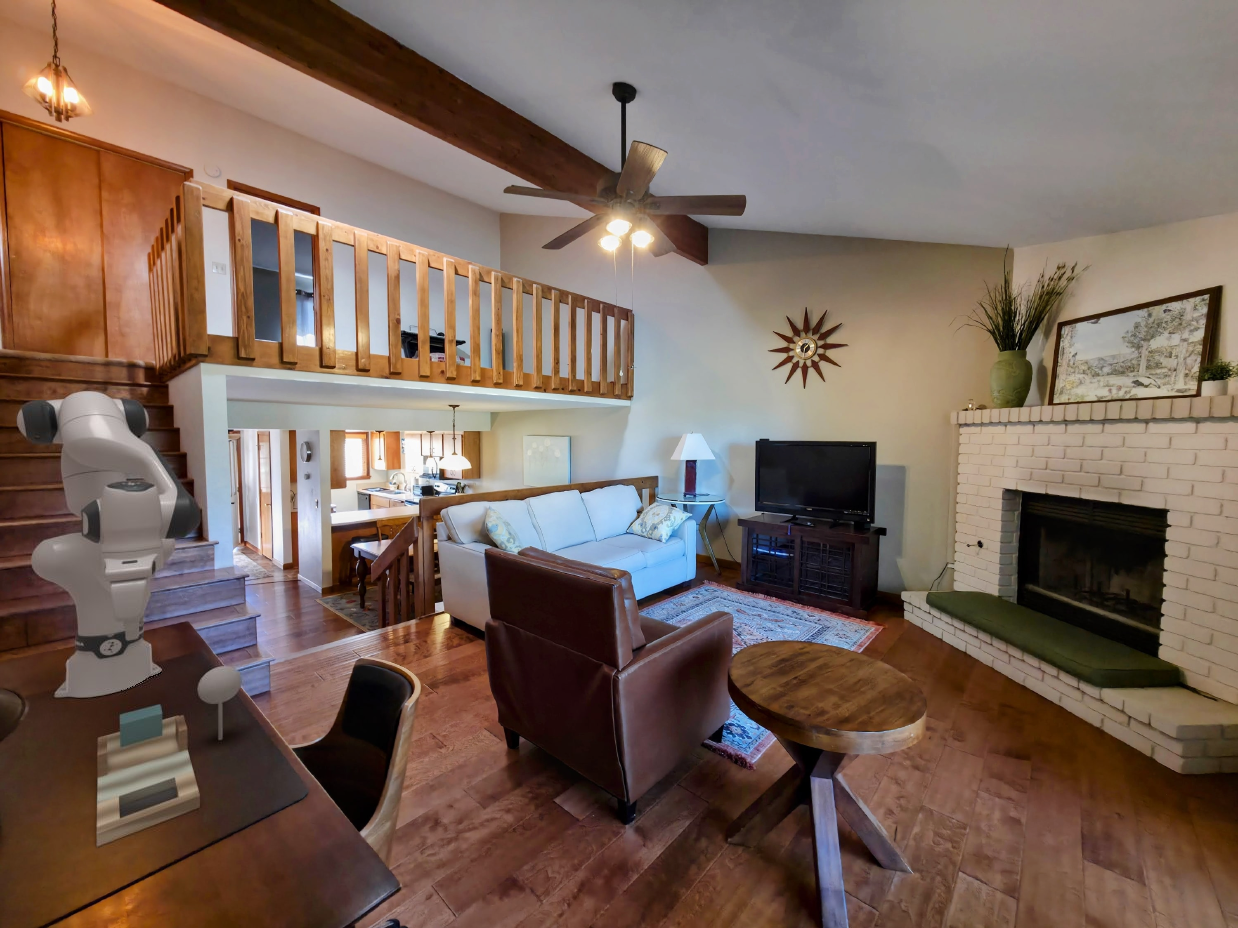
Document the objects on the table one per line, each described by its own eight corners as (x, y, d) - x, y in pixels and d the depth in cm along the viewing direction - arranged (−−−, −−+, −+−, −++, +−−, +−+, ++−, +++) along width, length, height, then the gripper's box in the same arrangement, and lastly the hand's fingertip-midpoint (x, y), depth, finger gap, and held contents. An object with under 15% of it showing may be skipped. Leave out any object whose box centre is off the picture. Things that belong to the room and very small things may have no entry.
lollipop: (250, 733, 106) (249, 663, 105) (213, 752, 99) (212, 677, 98) (226, 726, 108) (226, 658, 107) (189, 745, 101) (188, 671, 101)
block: (119, 736, 100) (119, 714, 100) (160, 725, 105) (160, 703, 104) (120, 747, 97) (120, 724, 97) (162, 735, 101) (162, 713, 101)
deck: (98, 747, 100) (98, 717, 100) (178, 724, 108) (178, 697, 108) (96, 846, 75) (96, 807, 75) (199, 807, 84) (199, 771, 84)
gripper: (118, 557, 106) (119, 622, 106) (102, 574, 90) (104, 651, 90) (158, 553, 110) (160, 616, 110) (150, 569, 94) (152, 642, 94)
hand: (135, 632), depth 100 cm, fingers open, 8 cm apart
